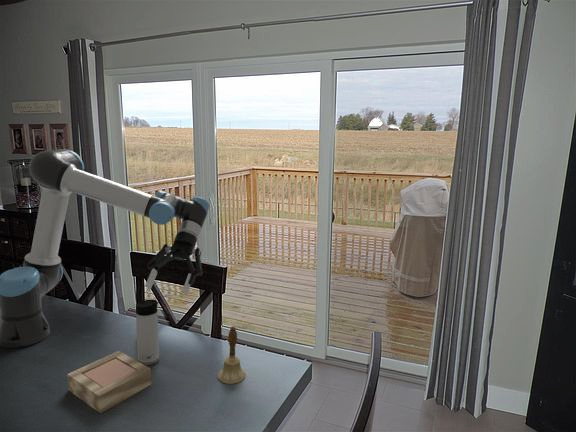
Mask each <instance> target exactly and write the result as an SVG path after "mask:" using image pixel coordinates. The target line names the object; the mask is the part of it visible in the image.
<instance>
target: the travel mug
mask: <svg viewBox="0 0 576 432" xmlns="http://www.w3.org/2000/svg"><path fill="white" fill-rule="evenodd" d="M158 305H159V302H158V300H156V299H144V300H142V301H141V300H140V301H139V302H138V303H136V305H135V308H136V309H135V318H136V319H135V321H136V343H137V344H136V345H137V347H136V348H137V361H138V362H140V363H142V364H143V365H145V366H147V367H149V366H152V365H154V364H156V363H158V361H159V360H160V357H159V356H160V354H159V353H160V351H159V350H160V349H159V320H158V319H159V317H158V316H159V315H158Z"/></svg>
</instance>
